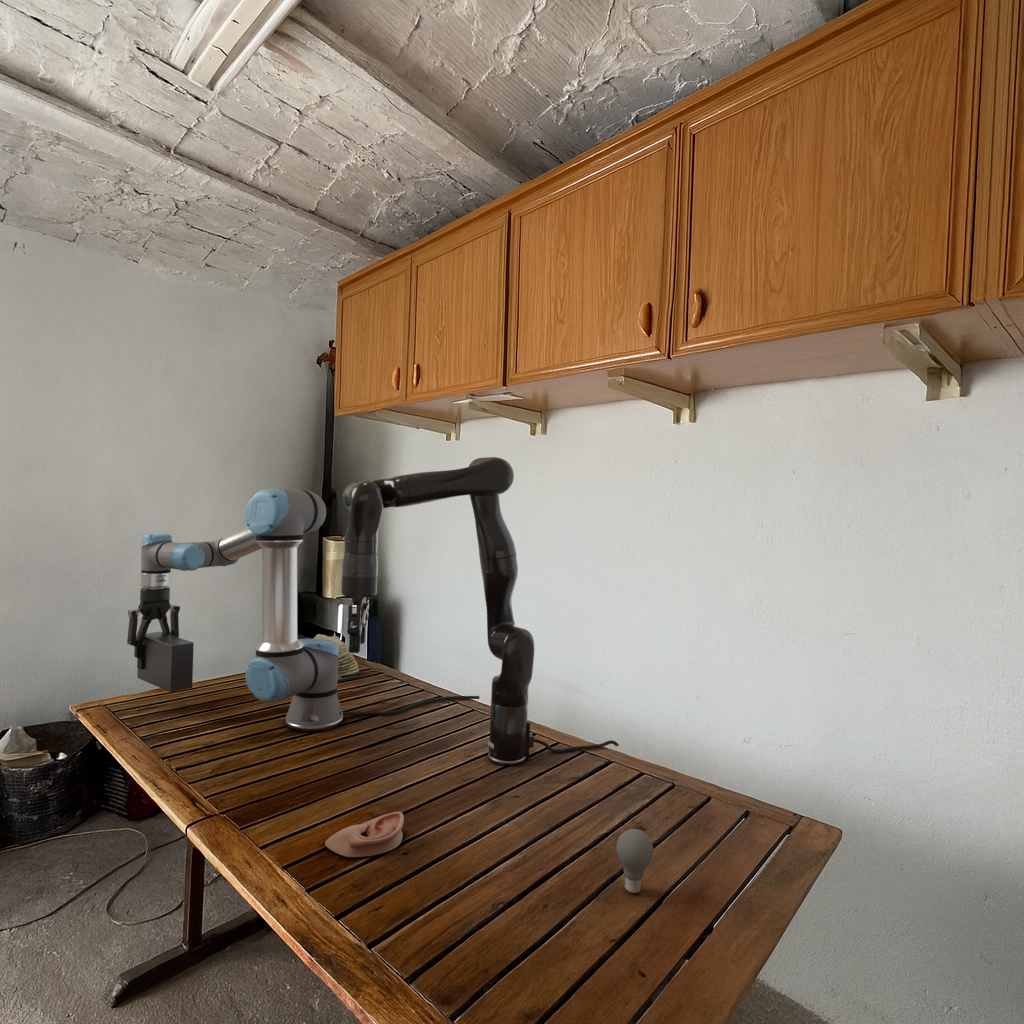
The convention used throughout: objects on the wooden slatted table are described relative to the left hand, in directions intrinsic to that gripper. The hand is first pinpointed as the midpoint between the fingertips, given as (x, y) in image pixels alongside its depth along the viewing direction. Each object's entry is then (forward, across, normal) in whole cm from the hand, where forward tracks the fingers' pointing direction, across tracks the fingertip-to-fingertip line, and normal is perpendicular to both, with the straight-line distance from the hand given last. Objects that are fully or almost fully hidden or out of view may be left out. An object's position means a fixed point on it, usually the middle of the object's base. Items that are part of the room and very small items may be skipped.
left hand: (152, 666), depth 184 cm
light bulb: (+12, +12, -147) cm, 148 cm away
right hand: (-19, +5, -84) cm, 86 cm away
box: (+3, 0, -7) cm, 8 cm away
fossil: (+12, +54, -13) cm, 56 cm away
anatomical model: (+12, -7, -102) cm, 103 cm away
